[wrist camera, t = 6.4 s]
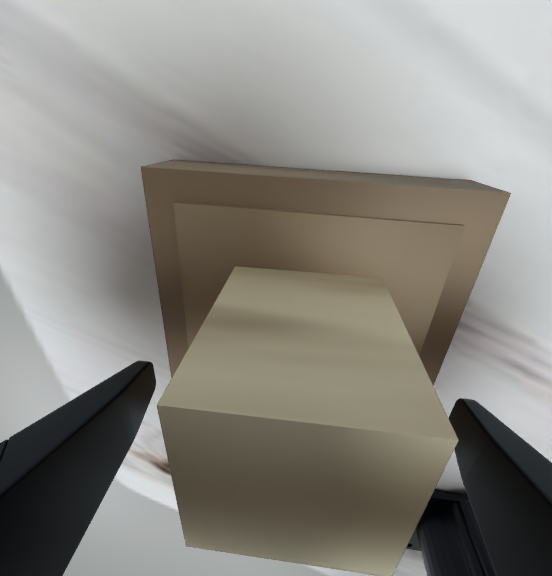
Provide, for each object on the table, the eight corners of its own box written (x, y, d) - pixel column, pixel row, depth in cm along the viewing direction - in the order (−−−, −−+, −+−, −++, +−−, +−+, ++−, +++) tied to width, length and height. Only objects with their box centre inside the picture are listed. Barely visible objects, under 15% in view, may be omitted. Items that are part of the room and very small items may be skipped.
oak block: (357, 387, 12) (391, 577, 7) (238, 374, 13) (186, 546, 8) (382, 277, 10) (458, 440, 5) (235, 266, 11) (157, 405, 5)
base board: (397, 398, 16) (411, 444, 14) (194, 374, 17) (175, 413, 14) (470, 180, 11) (514, 194, 9) (173, 159, 12) (138, 167, 9)
